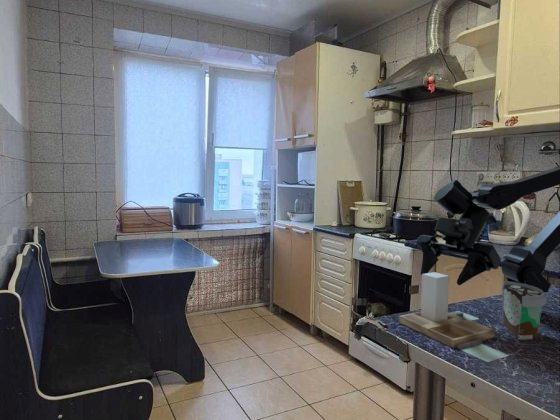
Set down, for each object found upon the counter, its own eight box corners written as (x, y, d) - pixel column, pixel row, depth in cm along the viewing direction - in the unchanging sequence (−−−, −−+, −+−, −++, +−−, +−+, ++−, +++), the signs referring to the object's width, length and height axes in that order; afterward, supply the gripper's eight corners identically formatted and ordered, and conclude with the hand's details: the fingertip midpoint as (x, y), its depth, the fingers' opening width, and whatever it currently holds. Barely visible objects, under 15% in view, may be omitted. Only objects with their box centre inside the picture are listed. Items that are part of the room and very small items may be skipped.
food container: (555, 348, 79) (558, 298, 78) (520, 345, 80) (523, 296, 80) (529, 325, 91) (532, 282, 90) (500, 323, 92) (502, 280, 92)
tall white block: (432, 318, 94) (434, 272, 93) (447, 323, 91) (449, 275, 90) (420, 321, 92) (422, 274, 91) (434, 326, 89) (436, 278, 88)
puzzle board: (456, 312, 100) (456, 304, 100) (548, 346, 80) (548, 336, 80) (398, 324, 92) (399, 315, 92) (485, 365, 72) (486, 354, 72)
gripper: (421, 202, 101) (390, 251, 95) (495, 207, 85) (463, 265, 80) (439, 231, 106) (411, 278, 101) (513, 240, 90) (484, 297, 85)
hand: (439, 279), depth 91 cm, fingers open, 9 cm apart
